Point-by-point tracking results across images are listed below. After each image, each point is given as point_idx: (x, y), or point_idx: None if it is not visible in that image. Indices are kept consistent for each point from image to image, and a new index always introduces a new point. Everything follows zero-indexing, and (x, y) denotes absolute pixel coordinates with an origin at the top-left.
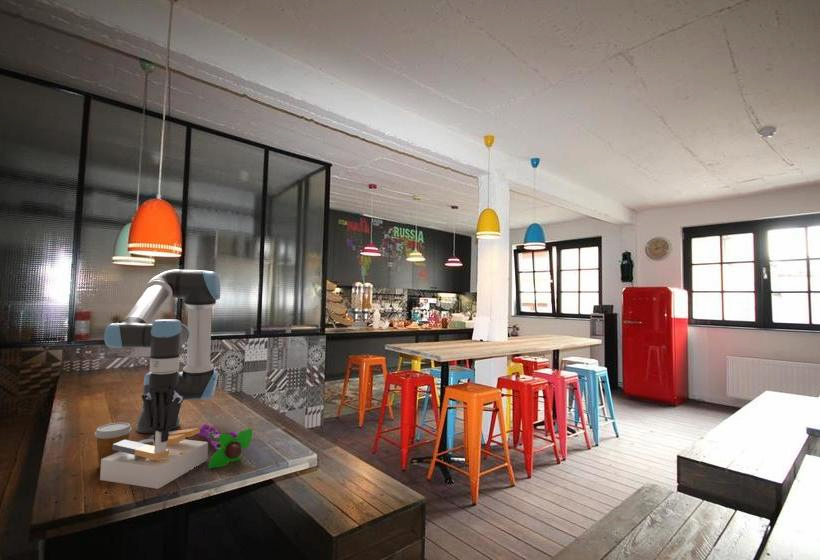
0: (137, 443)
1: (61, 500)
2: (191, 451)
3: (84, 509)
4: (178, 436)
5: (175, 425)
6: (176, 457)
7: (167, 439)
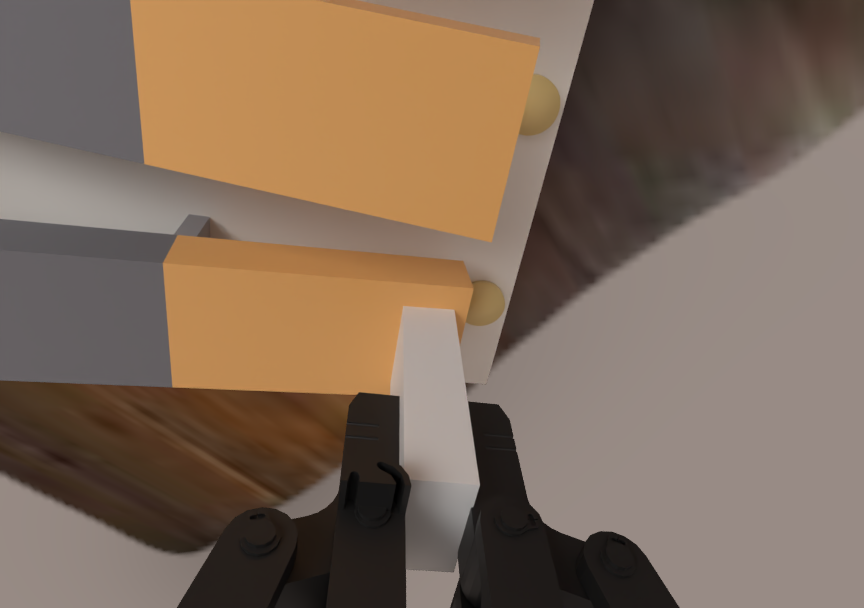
0: (47, 276)
1: (66, 447)
2: (588, 13)
3: (260, 486)
4: (489, 150)
5: (649, 563)
6: (518, 208)
7: (504, 425)
